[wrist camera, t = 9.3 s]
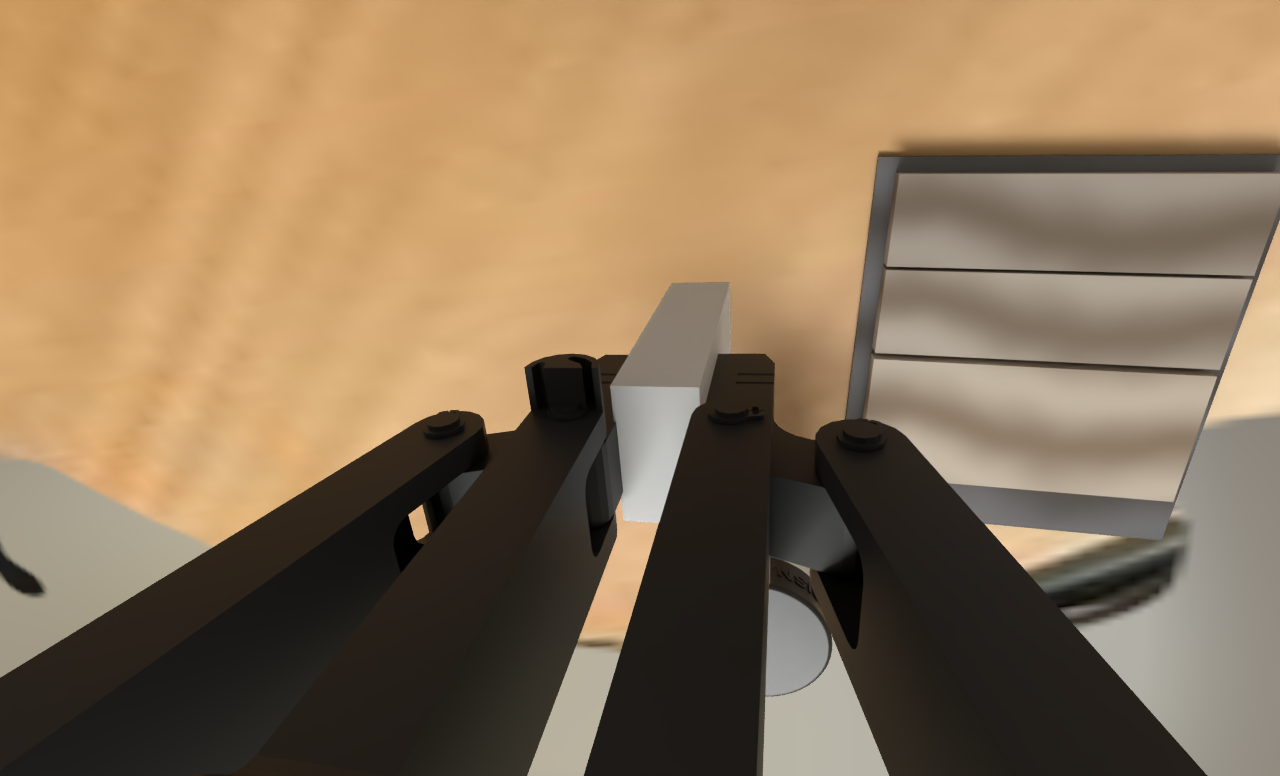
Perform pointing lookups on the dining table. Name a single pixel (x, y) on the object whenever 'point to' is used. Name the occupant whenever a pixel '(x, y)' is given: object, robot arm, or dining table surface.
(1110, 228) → the grey flat panel
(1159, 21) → the dining table surface
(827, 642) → the jar
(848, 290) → the dining table surface
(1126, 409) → the plank
